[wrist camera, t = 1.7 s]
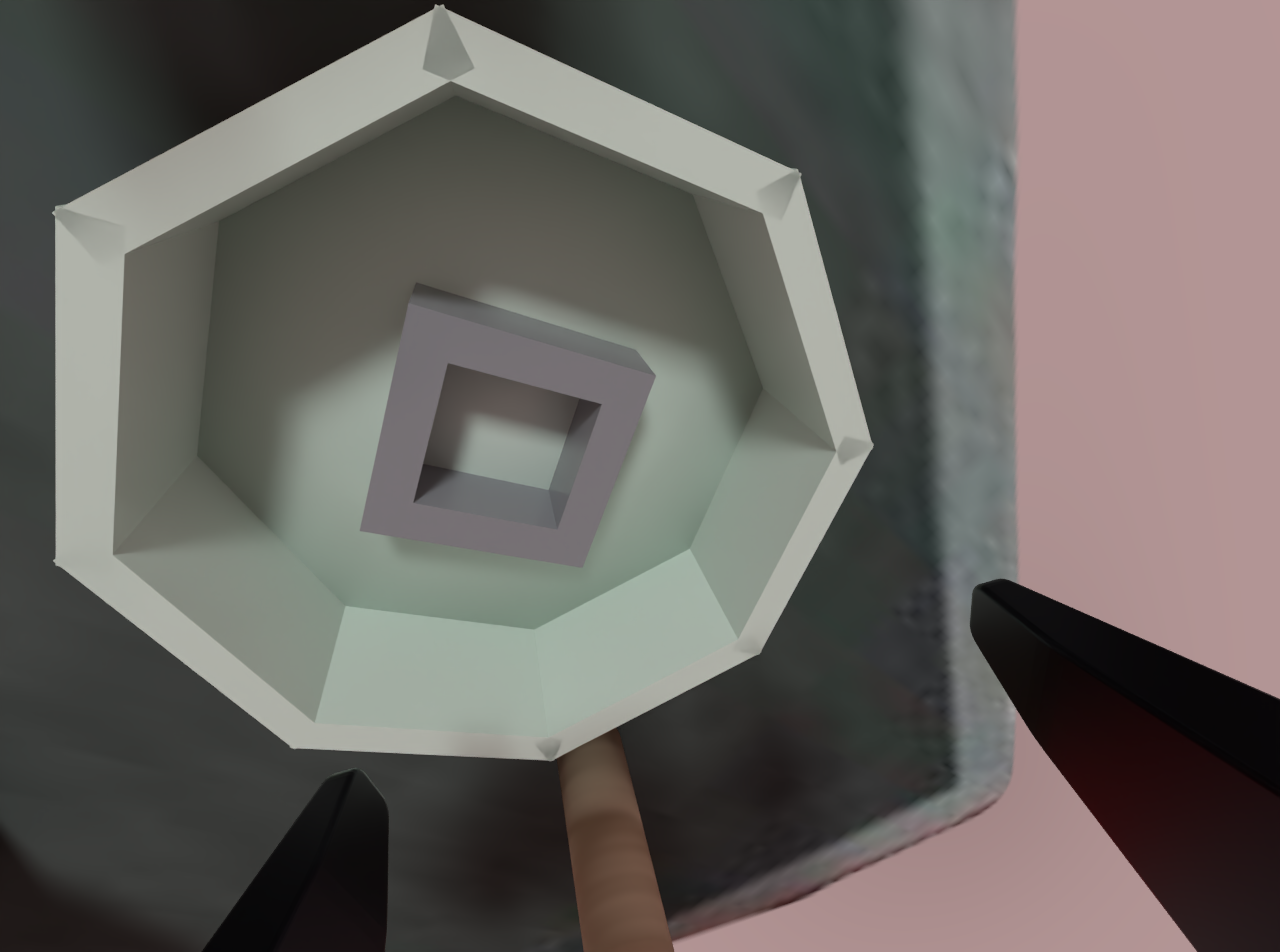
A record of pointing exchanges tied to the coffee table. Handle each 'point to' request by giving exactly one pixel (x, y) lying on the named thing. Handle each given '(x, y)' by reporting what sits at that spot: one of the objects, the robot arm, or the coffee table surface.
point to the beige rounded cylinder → (610, 852)
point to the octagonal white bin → (449, 400)
